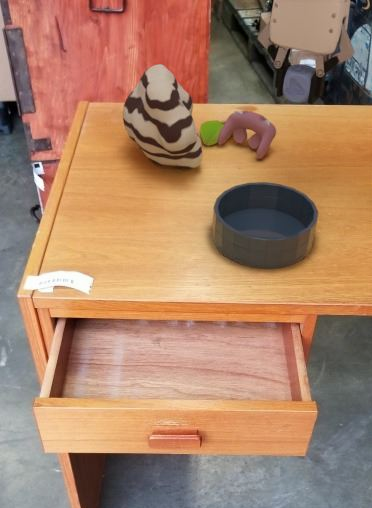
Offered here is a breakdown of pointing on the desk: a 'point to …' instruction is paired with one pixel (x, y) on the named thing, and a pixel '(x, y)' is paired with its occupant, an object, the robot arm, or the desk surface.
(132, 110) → the sculpture
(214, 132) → the decorative leaf
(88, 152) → the desk surface
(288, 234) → the basin
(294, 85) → the decorative dice
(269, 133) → the video game controller
